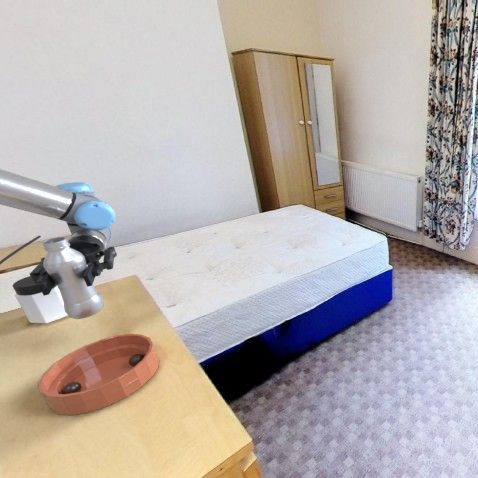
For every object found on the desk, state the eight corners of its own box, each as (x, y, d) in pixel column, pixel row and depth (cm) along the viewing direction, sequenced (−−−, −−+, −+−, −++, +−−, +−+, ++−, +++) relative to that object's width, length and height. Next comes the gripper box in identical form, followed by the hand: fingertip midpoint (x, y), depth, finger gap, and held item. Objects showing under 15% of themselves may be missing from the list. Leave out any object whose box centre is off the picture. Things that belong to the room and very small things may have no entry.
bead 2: (129, 365, 76) (125, 355, 75) (145, 358, 79) (141, 349, 77) (132, 371, 75) (128, 362, 74) (148, 364, 77) (144, 355, 76)
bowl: (47, 384, 72) (34, 364, 69) (148, 342, 85) (141, 324, 82) (56, 435, 61) (42, 413, 59) (170, 378, 74) (162, 358, 72)
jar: (66, 319, 92) (48, 284, 87) (25, 328, 88) (4, 291, 83) (78, 303, 99) (62, 269, 94) (40, 310, 95) (21, 275, 90)
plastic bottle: (62, 320, 76) (23, 244, 68) (94, 304, 82) (62, 233, 74) (82, 324, 75) (44, 248, 67) (114, 308, 81) (83, 236, 73)
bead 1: (63, 394, 69) (57, 384, 67) (82, 386, 71) (77, 376, 70) (65, 402, 67) (59, 392, 66) (85, 393, 69) (79, 383, 68)
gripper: (135, 252, 94) (128, 287, 77) (40, 268, 84) (8, 313, 67) (127, 228, 91) (117, 259, 74) (27, 242, 81) (-10, 282, 64)
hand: (66, 285), depth 71 cm, fingers closed on plastic bottle, 6 cm apart
